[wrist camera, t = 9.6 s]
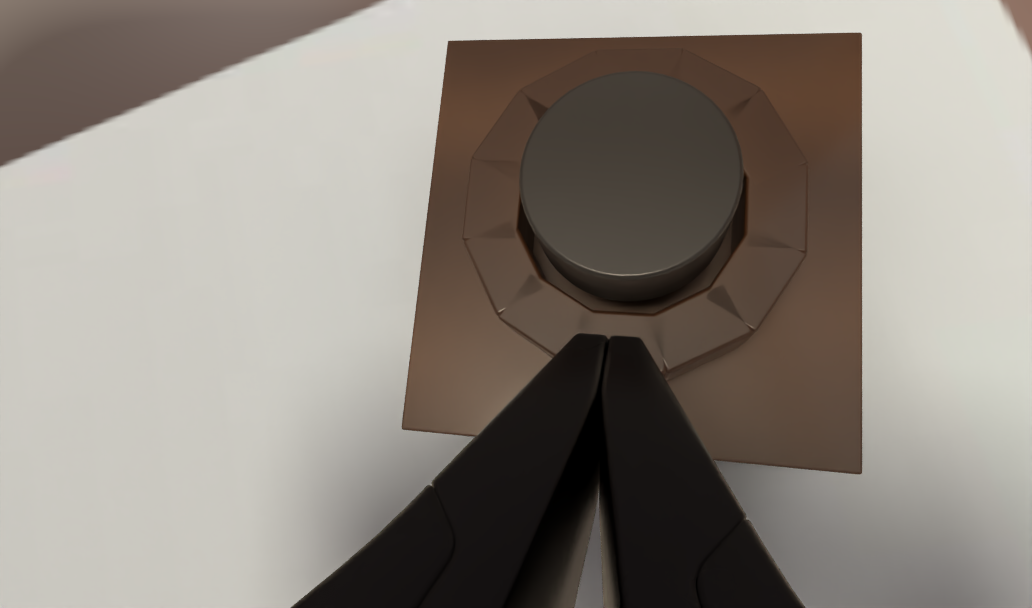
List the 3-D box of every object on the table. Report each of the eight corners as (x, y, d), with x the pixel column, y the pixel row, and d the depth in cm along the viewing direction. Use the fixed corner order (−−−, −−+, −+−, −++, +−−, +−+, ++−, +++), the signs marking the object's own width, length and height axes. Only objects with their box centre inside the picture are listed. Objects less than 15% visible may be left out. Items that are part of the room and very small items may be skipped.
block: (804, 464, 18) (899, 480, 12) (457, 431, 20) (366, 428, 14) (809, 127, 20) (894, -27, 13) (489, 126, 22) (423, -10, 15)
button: (725, 308, 13) (740, 285, 11) (526, 296, 14) (508, 273, 12) (732, 119, 14) (748, 67, 12) (543, 119, 15) (528, 69, 13)
